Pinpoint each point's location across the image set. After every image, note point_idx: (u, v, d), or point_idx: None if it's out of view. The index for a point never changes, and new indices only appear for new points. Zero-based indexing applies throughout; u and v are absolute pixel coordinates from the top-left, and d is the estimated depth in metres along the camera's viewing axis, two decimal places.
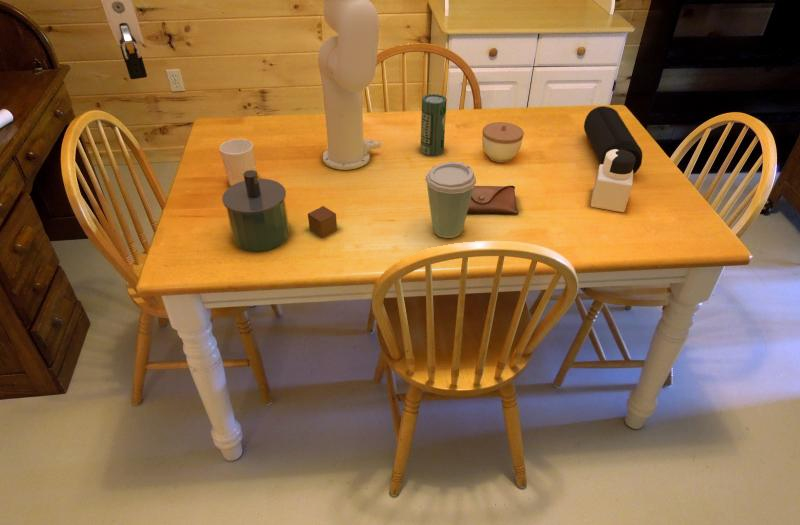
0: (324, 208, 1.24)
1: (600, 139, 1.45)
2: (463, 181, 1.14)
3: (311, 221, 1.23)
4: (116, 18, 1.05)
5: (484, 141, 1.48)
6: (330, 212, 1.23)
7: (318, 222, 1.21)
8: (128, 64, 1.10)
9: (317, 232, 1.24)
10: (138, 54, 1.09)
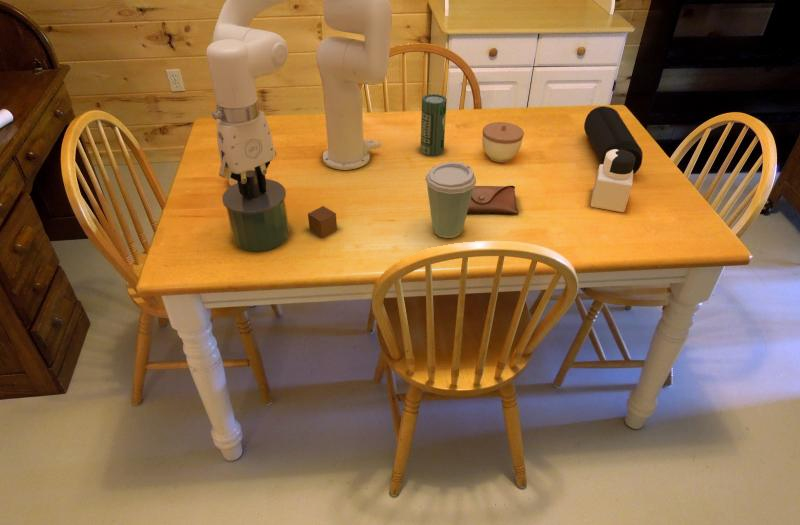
0: (324, 208, 1.24)
1: (600, 139, 1.45)
2: (463, 181, 1.14)
3: (311, 221, 1.23)
4: (219, 144, 1.07)
5: (484, 141, 1.48)
6: (330, 212, 1.23)
7: (318, 222, 1.21)
8: None
9: (317, 232, 1.24)
10: (241, 182, 1.12)
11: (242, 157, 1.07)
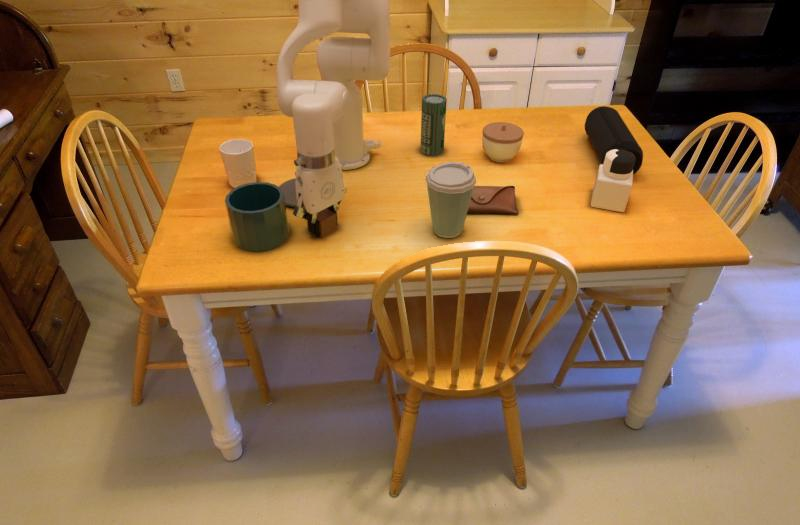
0: None
1: (601, 139, 1.45)
2: (463, 181, 1.14)
3: None
4: (297, 187, 1.15)
5: (484, 141, 1.48)
6: (330, 212, 1.23)
7: None
8: None
9: None
10: (311, 221, 1.20)
11: (318, 199, 1.16)
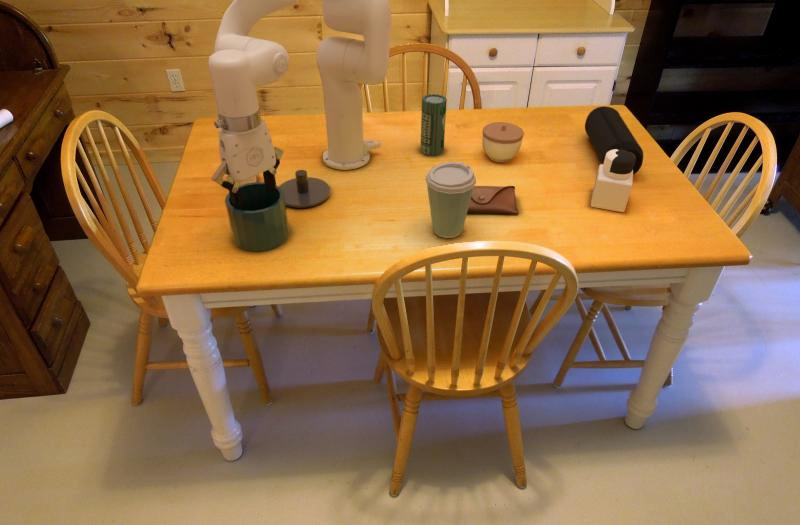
0: None
1: (601, 139, 1.45)
2: (463, 181, 1.14)
3: None
4: (221, 152, 1.08)
5: (484, 141, 1.48)
6: None
7: None
8: None
9: None
10: (232, 189, 1.11)
11: (244, 165, 1.09)
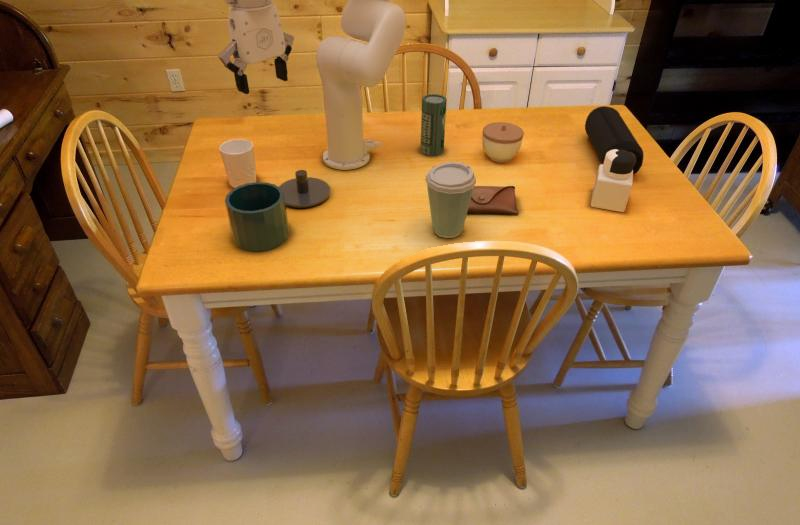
0: None
1: (601, 139, 1.45)
2: (463, 181, 1.14)
3: None
4: (231, 33, 1.08)
5: (484, 141, 1.48)
6: None
7: None
8: None
9: None
10: (237, 71, 1.10)
11: (253, 46, 1.08)
